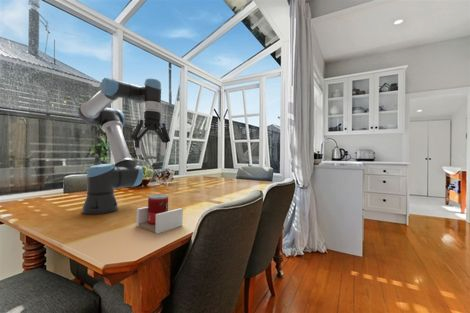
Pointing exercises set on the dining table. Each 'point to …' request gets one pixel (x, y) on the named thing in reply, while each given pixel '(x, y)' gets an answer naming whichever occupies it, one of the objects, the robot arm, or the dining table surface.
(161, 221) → the holder
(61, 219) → the dining table surface
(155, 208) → the canned food
